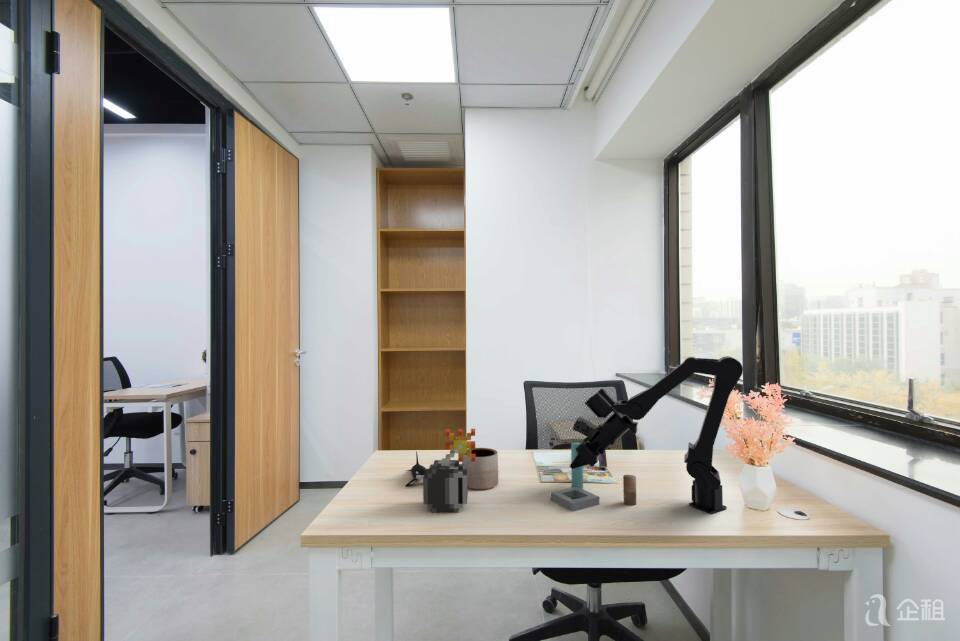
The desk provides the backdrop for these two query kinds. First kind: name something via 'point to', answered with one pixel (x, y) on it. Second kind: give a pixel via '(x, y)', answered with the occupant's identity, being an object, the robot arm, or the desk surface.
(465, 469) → the bomb
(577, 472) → the teal pin
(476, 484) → the planter
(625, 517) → the desk surface
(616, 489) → the desk surface
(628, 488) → the walnut pin
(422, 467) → the toy
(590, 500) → the socket block
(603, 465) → the toy gun
